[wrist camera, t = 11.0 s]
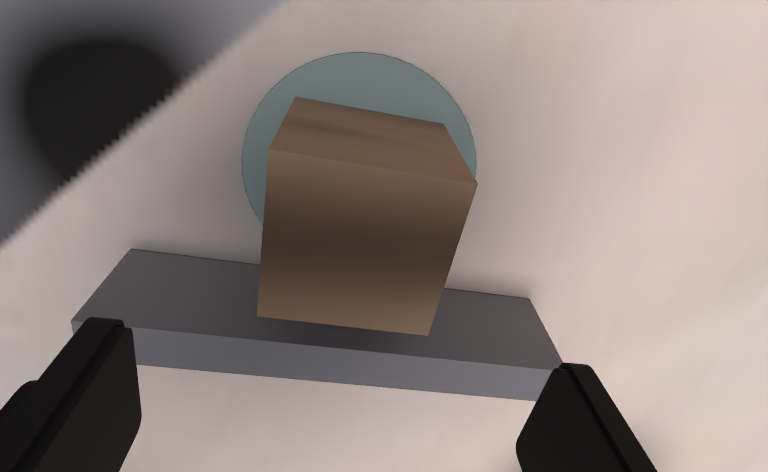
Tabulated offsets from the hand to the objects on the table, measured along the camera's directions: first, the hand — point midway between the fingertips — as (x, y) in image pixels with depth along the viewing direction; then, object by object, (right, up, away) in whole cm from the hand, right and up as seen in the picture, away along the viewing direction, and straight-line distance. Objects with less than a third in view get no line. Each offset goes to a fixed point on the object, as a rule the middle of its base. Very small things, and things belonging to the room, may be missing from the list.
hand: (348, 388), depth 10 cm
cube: (0, +6, +9) cm, 11 cm away
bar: (-1, +1, +13) cm, 13 cm away
